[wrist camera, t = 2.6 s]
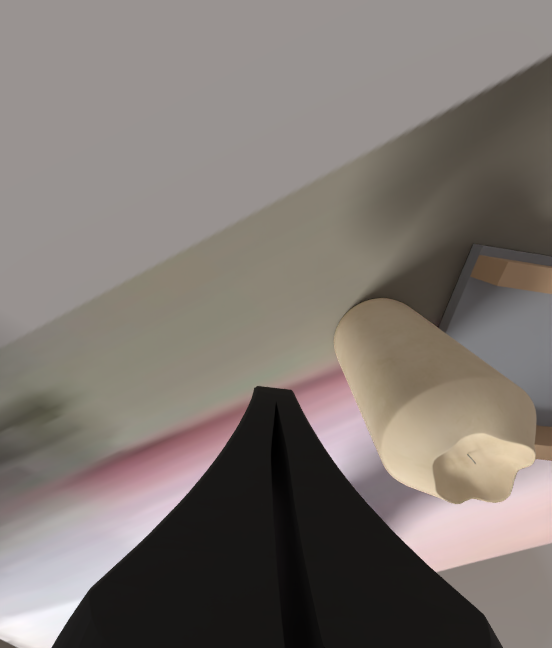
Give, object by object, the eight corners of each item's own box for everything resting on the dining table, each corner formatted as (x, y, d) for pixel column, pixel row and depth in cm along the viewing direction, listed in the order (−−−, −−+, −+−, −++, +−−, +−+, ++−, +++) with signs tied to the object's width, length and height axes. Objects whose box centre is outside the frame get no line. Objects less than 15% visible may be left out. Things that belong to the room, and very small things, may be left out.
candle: (393, 278, 16) (551, 371, 7) (432, 344, 18) (600, 487, 9) (316, 330, 17) (364, 466, 8) (359, 386, 19) (439, 551, 10)
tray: (551, 438, 21) (589, 470, 19) (399, 421, 20) (417, 452, 18) (668, 275, 16) (742, 288, 14) (473, 243, 15) (513, 250, 13)
